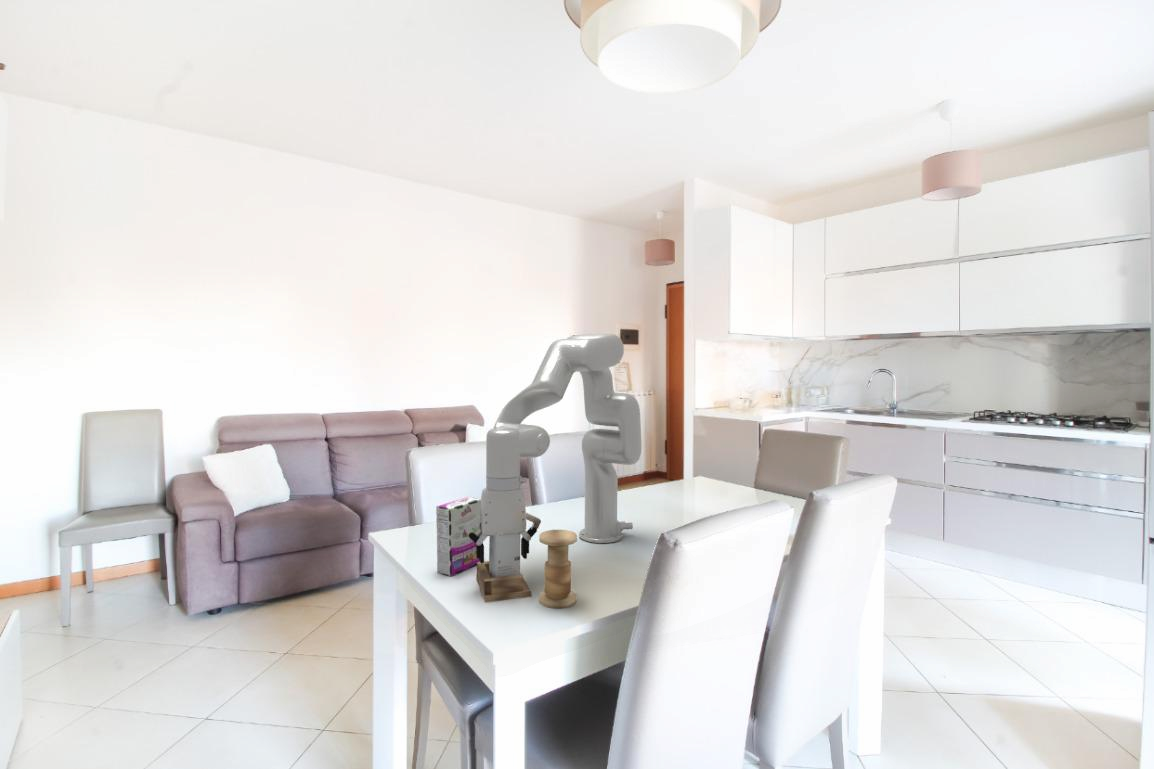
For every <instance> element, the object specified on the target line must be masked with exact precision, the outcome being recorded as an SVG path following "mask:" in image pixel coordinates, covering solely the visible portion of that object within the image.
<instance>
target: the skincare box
mask: <svg viewBox="0 0 1154 769" xmlns="http://www.w3.org/2000/svg"><path fill="white" fill-rule="evenodd" d="M488 543H489V544H488V545H489V548H488V558H489V559H488V561H489V576H490V578H497V577H506V576H515V575H520V573H521V534H504V533H503V532H496V535H495V536H489V542H488Z"/></svg>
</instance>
